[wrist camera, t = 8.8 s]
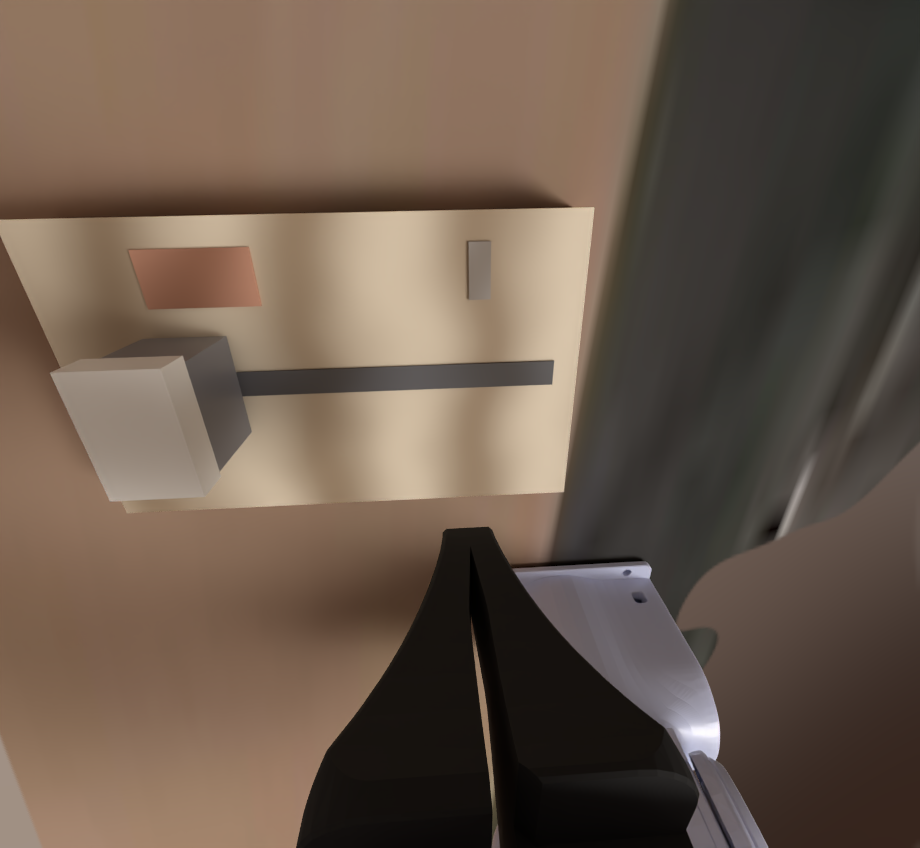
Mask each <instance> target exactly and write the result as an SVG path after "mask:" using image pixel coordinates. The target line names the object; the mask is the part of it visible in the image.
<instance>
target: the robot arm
mask: <svg viewBox="0 0 920 848" xmlns="http://www.w3.org/2000/svg"><path fill="white" fill-rule="evenodd" d="M625 570H626V571H625ZM650 574H651V567H650V566H649V564H648V563H647V562H645V561H638V562H620V563H603V564H585V565H567V566H549V567H532V568H514V569H512V568H511V566H510V564H509V563H508V561H507V559H506V557H505V556H504V554H503V552H502V550H501V548H500V546H499V544H498V542H497V540H496V538H495V536H494V534H493V531H492V529H490V528H489V527H476V528H457V529H446V530H445V531H444V532H443V538H442V545H441V550H440V554H439V558H438V561H437V565H436V568H435V571H434V573H433V576H432V579H431V582H430V585H429V588H428V590H427V592H426V595H425V597H424V599H423V602H422V604H421V607H420V609H419V611H418V613H417V615H416V618H415V620H414V622H413V624H412V626H411V628H410V630H409V632H408V633H407V635H406V637H405V639H404V641H403V643H402V645H401V646H400V648H399V650H398V651H397V653H396V655H395V657H394V658H393V660H392V662H391V663H390V665H389V667H388V668H387V670H386V671H385V673H384V675H383V676H382V678H381V679H380V680H379V682H378V683H377V685H376V686H375V688H374V689H373V691H372V692H371V693H370V695H369V696H368V698H367V699H366V701H365V702H364V704H363V705H362V706H361V708H360V709H359V711H358V712H357V713H356V715H355V716H354V717H353V718H352V720H351V721H350V722H349V723H348V725H347V726H346V727H345V728H344V730H343V731H342V732H341V733H340V735H339V736H338V737H337V739H336V740H335V741H334V742H333V744H332V745H331V746H330V747H329V749H328V750H327V752H326V754H325V756H324V758H323V761H322V763H321V765H320V768H319V770H318V772H317V775H316V777H315V780H314V783H313V785H312V788H311V791H310V794H309V797H308V800H307V803H306V807H305V810H304V814H303V818H302V823H301V827H300V832H299V837H298V841H297V846H296V848H491V845H492V848H768V846H767V844H766V842H765V840H764V838H763V836H762V834H761V832H760V830H759V828H758V827H757V825H756V823H755V821H754V819H753V817H752V815H751V813H750V811H749V809H748V808H747V806H746V804H745V802H744V800H743V798H742V797H741V795H740V793H739V791H738V790H737V788H736V786H735V785H734V783H733V781H732V779H731V777H730V776H729V774H728V773H727V771H726V770H725V768H724V767H723V766H722V765H721V764H720V763H719V762H717V761H715V760H716V758H717V756H718V752H719V746H720V727H719V719H718V714H717V710H716V706H715V703H714V699H713V696H712V693H711V690H710V687H709V685H708V682H707V679H706V677H705V675H704V673H703V670H702V668H701V666H700V665H699V663H698V661H697V659H696V657H695V656H694V654H693V652H692V651H691V649H690V647H689V645H688V644H687V642H686V640H685V639H684V637H683V635H682V633H681V632H680V630H679V628H678V627H677V625H676V623H675V621H674V620H673V618H672V616H671V615H670V613H669V611H668V609H667V608H666V606H665V604H664V603H663V601H662V599H661V597H660V596H659V594H658V592H657V591H656V589H655V587H654V585H653V584H652V582H651V580H650V579H649V578H650ZM471 617H472V623H473V629H474V634H475V640H476V645H477V651H478V657H479V662H480V668H481V673H482V679H483V684H484V690H485V696H486V703H487V711H488V722H489V732H490V743H491V753H492V764H493V775H494V786H495V797H496V809H497V820H498V825H497V828H496V831H495V833H494V837H493V842H492V801H491V791H490V781H489V771H488V764H487V757H486V749H485V742H484V734H483V727H482V719H481V711H480V703H479V695H478V687H477V678H476V670H475V661H474V652H473V643H472V634H471ZM693 770H695V772H696V775H697V777H698V779H699V781H700V785H701V787H700V785H699V783H698V780H697V779H696V776H695V774H694V772H693ZM701 788H702V789H701ZM702 790H703V791H702Z"/></svg>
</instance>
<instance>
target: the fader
mask: <svg viewBox="0 0 920 848" xmlns="http://www.w3.org/2000/svg"><path fill="white" fill-rule="evenodd" d="M50 375H51V377H52V379H53V381H54V383H55V385H56V388H57V390H58V392H59V394H60V396H61V398H62V400H63V402H64V405H65V407H66V409H67V411H68V413H69V415H70V417H71V419H72V422H73V424H74V426H75V428H76V430H77V432H78V434H79V436H80V439H81V441H82V443H83V445H84V447H85V449H86V451H87V453H88V455H89V458H90V460H91V462H92V464H93V466H94V468H95V470H96V472H97V475H98V477H99V479H100V481H101V483H102V485H103V487H104V489H105V492H106V494H107V496H108V498H109V500H110V502H112V501H133V500H154V499H174V498H195V497H206V495H207V494H208V493H209V492H210V490H211V489H212V488H213V486H214V485H215V484H216V483H217V481H218V480H219V479H220V478H221V474H220V471H221V470H222V468H223V467H224V466H225V465H226V463H227V462H228V461H229V460H230V458H231V457H232V456H233V455H234V453H235V452H236V451H237V450H238V448H239V447H240V446H241V445H242V444H243V442H244V441H245V440H246V439H247V437H248V436H249V435H250V434H251V432H252V430H251V427H250V423H249V419H248V415H247V412H246V408H245V404H244V400H243V396H242V393H241V389H240V385H239V381H238V378H237V374H236V370H235V366H234V363H233V359H232V355H231V351H230V348H229V344H228V340H227V336H212V337H181V338H150V339H141V340H139V341H137V342H135V343H132V344H130V345H128V346H126V347H123V348H121V349H119V350H117V351H115V352H112V353H110V354H108V355H106V356H104V357H101V358H99V359H80V360H78V361H76V362H73V363H71V364H69V365H66V366H64V367H62V368H59V369H57V370H55V371H52V372H50Z"/></svg>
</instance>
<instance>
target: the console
mask: <svg viewBox="0 0 920 848" xmlns="http://www.w3.org/2000/svg"><path fill="white" fill-rule="evenodd" d="M594 208H595V207H567V208H520V209H472V210H425V211H377V212H330V213H282V214H235V215H187V216H140V217H92V218H47V219H11V220H0V237H1V239H2V241H3V243H4V245H5V247H6V250H7V252H8V254H9V256H10V258H11V261H12V263H13V265H14V267H15V269H16V272H17V274H18V276H19V278H20V280H21V283H22V285H23V287H24V289H25V291H26V294H27V296H28V298H29V300H30V302H31V304H32V307H33V309H34V311H35V313H36V315H37V318H38V320H39V322H40V324H41V326H42V329H43V331H44V333H45V335H46V337H47V340H48V342H49V344H50V346H51V348H52V350H53V353H54V355H55V357H56V359H57V361H58V364H59V366H60V368H62V367H64V366H66V365H69V364H71V363H73V362H76V361H78V360H80V359H99V358H101V357H104V356H106V355H108V354H110V353H112V352H115V351H117V350H119V349H121V348H123V347H126V346H128V345H130V344H132V343H135V342H137V341H139V340H141V339H150V338H181V337H212V336H227V340H228V344H229V348H230V351H231V355H232V359H233V363H234V366H235V370H236V374H237V378H238V381H239V385H240V389H241V393H242V396H243V400H244V404H245V408H246V412H247V415H248V419H249V423H250V427H251V430H252V432H251V434H250V435H249V436H248V437H247V439H246V440H245V441H244V442H243V444H242V445H241V446H240V447H239V448H238V450H237V451H236V452H235V453H234V455H233V456H232V457H231V458H230V460H229V461H228V462H227V463H226V465H225V466H224V467H223V468H222V470H221V471H220V474H221V478H220V479H219V480H218V481H217V483H216V484H215V485H214V486H213V488H212V489H211V490H210V492H209V493H208V494H207V495H206V497H195V498H174V499H154V500H133V501H121V502H122V504H123V506H124V508H125V510H126V513H143V512H163V511H184V510H204V509H224V508H245V507H265V506H285V505H306V504H326V503H347V502H367V501H387V500H408V499H428V498H449V497H469V496H489V495H510V494H530V493H550V492H564V484H565V475H566V466H567V457H568V447H569V438H570V429H571V420H572V411H573V401H574V392H575V383H576V374H577V365H578V355H579V346H580V337H581V328H582V318H583V309H584V300H585V291H586V282H587V272H588V263H589V254H590V245H591V236H592V226H593V217H594Z"/></svg>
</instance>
